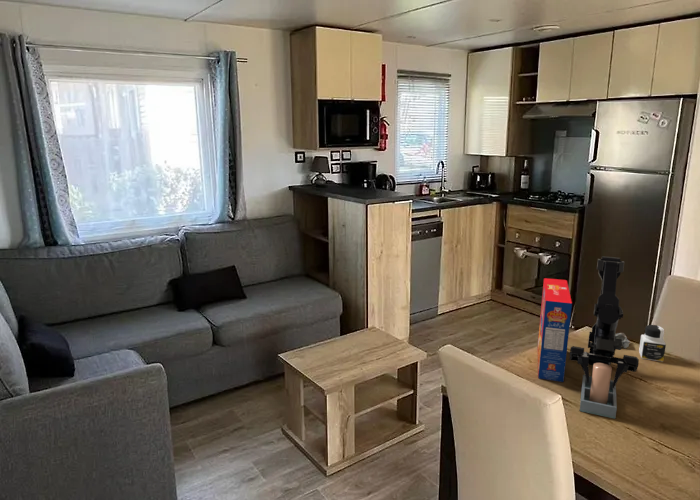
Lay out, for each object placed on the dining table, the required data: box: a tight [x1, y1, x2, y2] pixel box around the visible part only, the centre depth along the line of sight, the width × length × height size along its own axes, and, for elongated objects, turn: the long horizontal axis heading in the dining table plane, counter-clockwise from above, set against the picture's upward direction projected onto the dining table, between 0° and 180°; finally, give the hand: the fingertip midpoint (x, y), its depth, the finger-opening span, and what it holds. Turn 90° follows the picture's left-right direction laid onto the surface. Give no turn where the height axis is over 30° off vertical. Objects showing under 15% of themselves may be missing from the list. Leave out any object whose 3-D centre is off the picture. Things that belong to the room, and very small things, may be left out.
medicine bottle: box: [638, 324, 667, 363], centre depth 189 cm, size 7×7×12 cm
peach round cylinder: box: [589, 363, 613, 405], centre depth 154 cm, size 5×5×13 cm
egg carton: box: [615, 332, 631, 349], centre depth 201 cm, size 11×8×4 cm
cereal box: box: [537, 277, 573, 383], centre depth 182 cm, size 28×8×28 cm, turn 161°
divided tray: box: [579, 374, 618, 420], centre depth 159 cm, size 18×10×4 cm, turn 154°
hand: (600, 385), depth 152 cm, fingers open, 7 cm apart
